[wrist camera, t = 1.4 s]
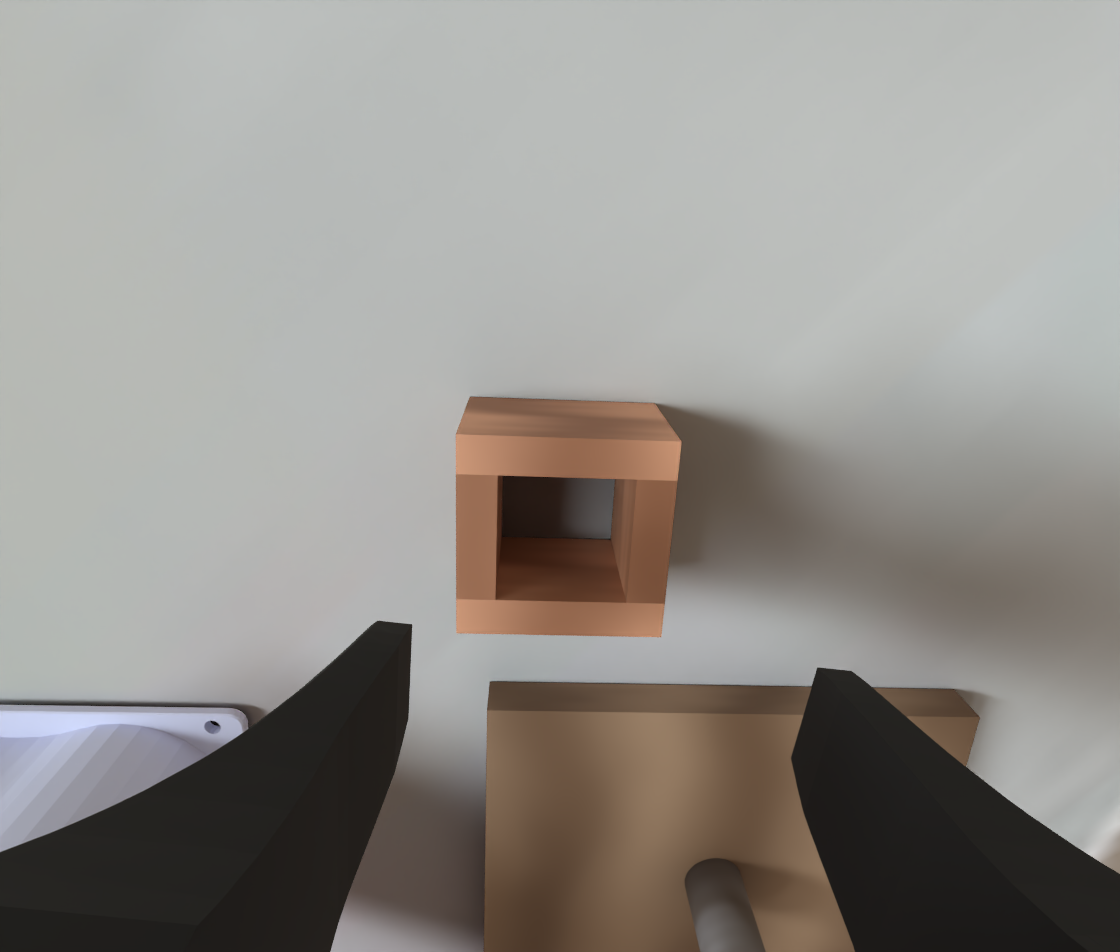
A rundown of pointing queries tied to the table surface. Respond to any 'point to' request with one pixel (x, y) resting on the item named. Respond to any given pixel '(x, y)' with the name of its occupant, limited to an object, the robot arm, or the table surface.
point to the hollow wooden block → (559, 563)
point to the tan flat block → (662, 817)
